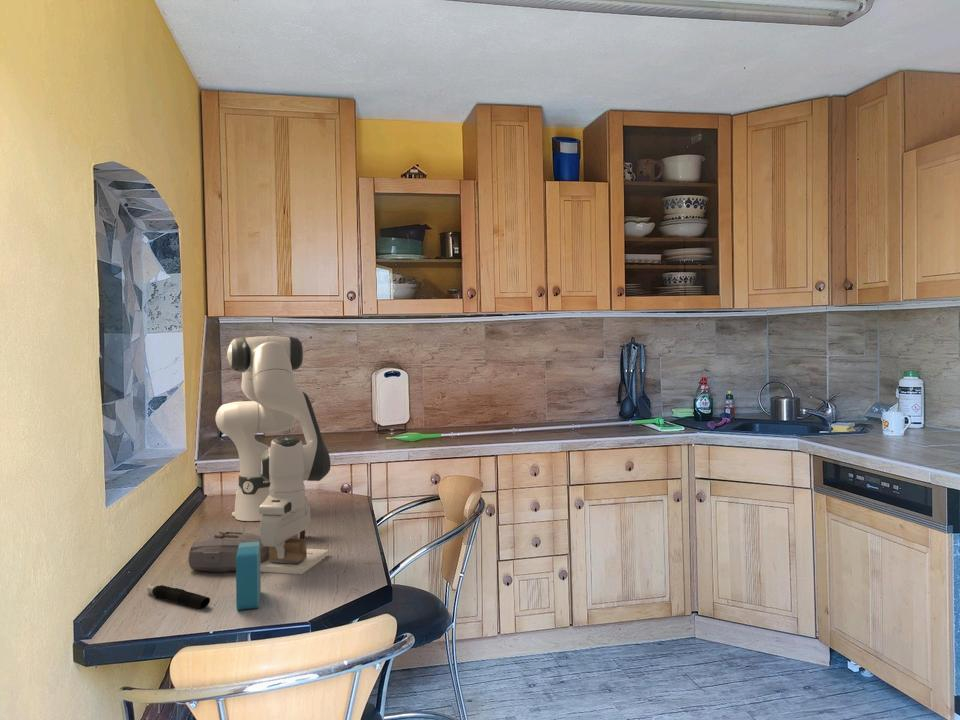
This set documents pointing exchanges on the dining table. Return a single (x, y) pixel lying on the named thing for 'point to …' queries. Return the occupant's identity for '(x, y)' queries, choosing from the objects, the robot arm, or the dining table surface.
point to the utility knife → (179, 596)
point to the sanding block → (290, 551)
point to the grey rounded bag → (222, 551)
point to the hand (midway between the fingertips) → (287, 554)
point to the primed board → (294, 568)
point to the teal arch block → (248, 576)
